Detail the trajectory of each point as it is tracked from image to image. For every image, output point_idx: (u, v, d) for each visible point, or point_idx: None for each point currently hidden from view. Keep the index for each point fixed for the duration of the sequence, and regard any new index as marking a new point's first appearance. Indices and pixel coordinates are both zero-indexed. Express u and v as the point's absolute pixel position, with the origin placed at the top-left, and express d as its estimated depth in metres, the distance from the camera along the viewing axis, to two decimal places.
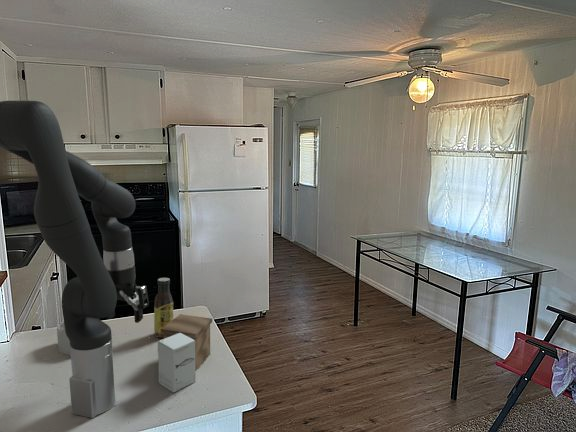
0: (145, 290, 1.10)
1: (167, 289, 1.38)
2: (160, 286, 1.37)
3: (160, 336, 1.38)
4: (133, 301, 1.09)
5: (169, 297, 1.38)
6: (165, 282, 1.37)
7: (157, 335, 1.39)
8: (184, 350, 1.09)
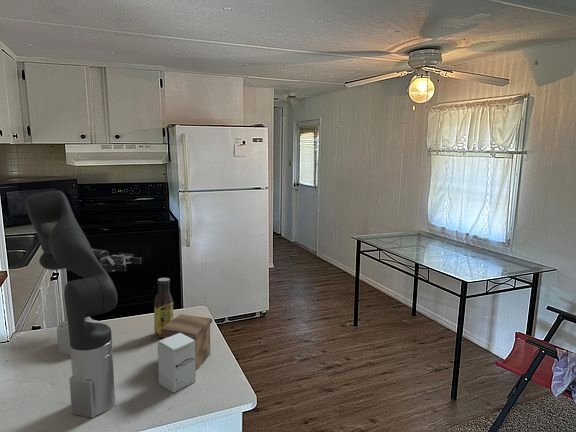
0: None
1: (167, 289, 1.38)
2: (160, 286, 1.37)
3: (160, 336, 1.38)
4: None
5: (169, 297, 1.38)
6: (165, 282, 1.37)
7: (157, 335, 1.39)
8: (184, 350, 1.09)
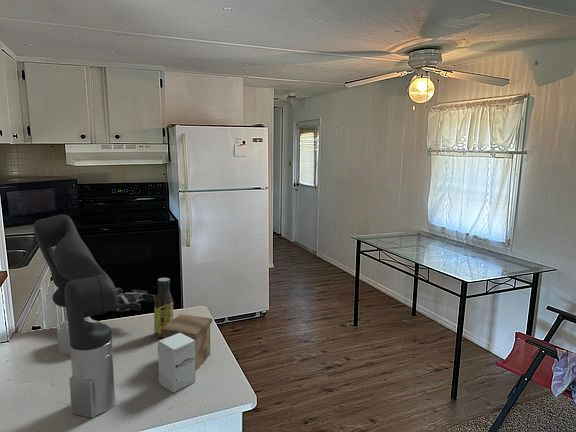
0: None
1: (167, 289, 1.38)
2: (160, 286, 1.37)
3: (160, 336, 1.38)
4: None
5: (169, 297, 1.38)
6: (165, 282, 1.37)
7: (157, 335, 1.39)
8: (184, 350, 1.09)
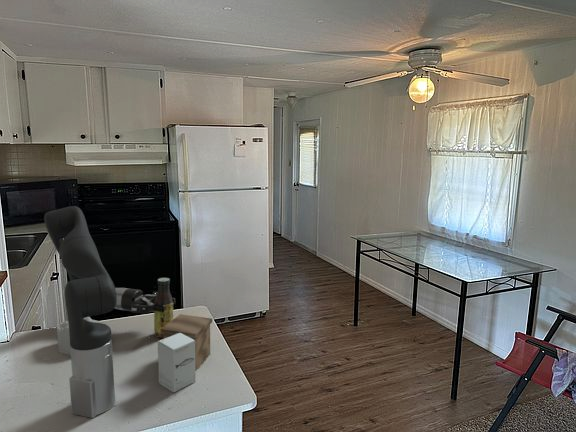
0: None
1: (167, 289, 1.38)
2: (160, 286, 1.37)
3: (160, 336, 1.38)
4: None
5: (169, 297, 1.38)
6: (165, 282, 1.37)
7: (157, 335, 1.39)
8: (184, 350, 1.09)
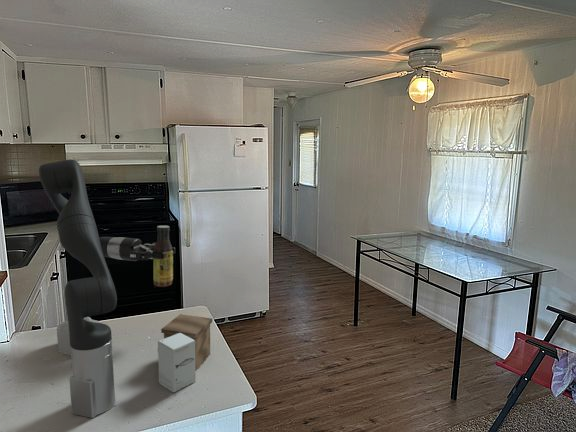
0: None
1: (166, 236, 1.33)
2: (159, 233, 1.32)
3: (159, 285, 1.34)
4: None
5: (169, 245, 1.34)
6: (165, 229, 1.32)
7: (156, 284, 1.34)
8: (184, 350, 1.09)
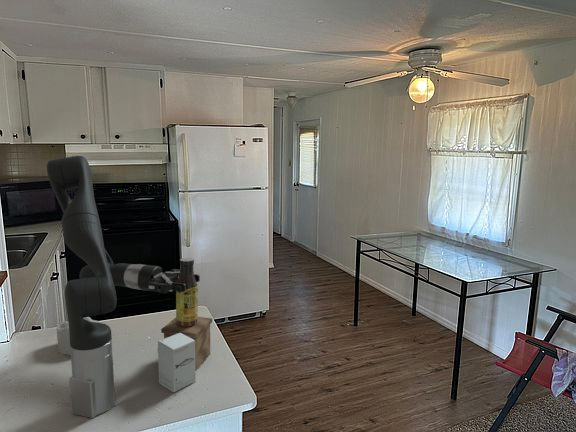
0: None
1: (191, 271, 1.20)
2: (183, 267, 1.19)
3: (183, 325, 1.20)
4: None
5: (193, 280, 1.20)
6: (189, 262, 1.19)
7: (180, 324, 1.20)
8: (184, 350, 1.09)
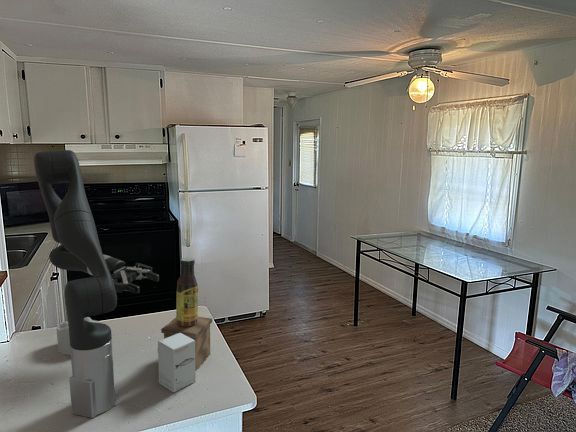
0: None
1: (191, 271, 1.20)
2: (184, 267, 1.19)
3: (183, 325, 1.20)
4: None
5: (194, 280, 1.20)
6: (189, 262, 1.19)
7: (180, 324, 1.20)
8: (184, 350, 1.09)
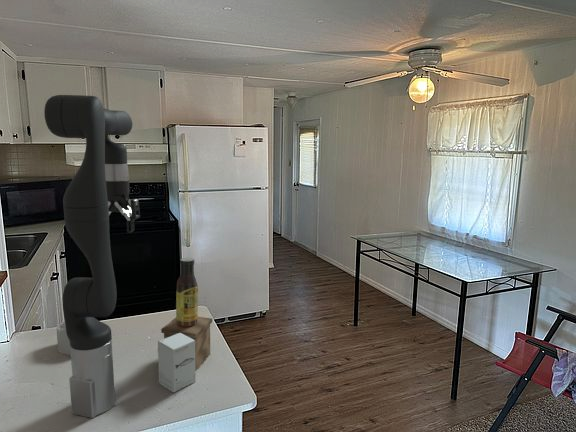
0: (137, 202, 1.23)
1: (191, 271, 1.20)
2: (183, 267, 1.19)
3: (183, 325, 1.20)
4: (126, 212, 1.23)
5: (193, 280, 1.20)
6: (189, 262, 1.19)
7: (180, 324, 1.20)
8: (184, 350, 1.09)
